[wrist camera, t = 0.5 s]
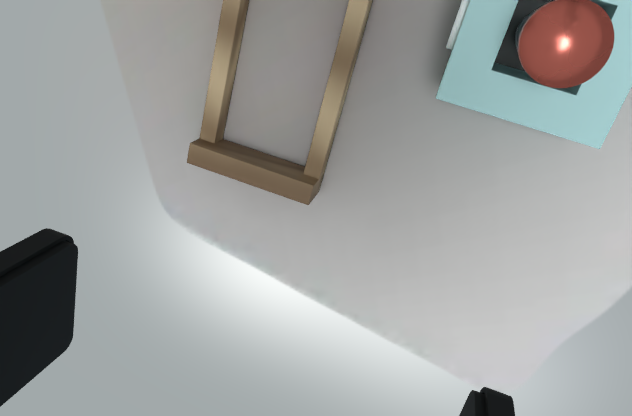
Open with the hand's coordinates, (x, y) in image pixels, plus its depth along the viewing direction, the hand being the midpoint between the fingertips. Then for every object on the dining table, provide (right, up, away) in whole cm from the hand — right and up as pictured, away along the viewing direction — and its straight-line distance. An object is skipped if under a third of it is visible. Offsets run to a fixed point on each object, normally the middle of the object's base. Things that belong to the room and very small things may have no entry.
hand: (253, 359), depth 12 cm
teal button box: (+15, +14, +20) cm, 29 cm away
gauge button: (+14, +13, +18) cm, 26 cm away
